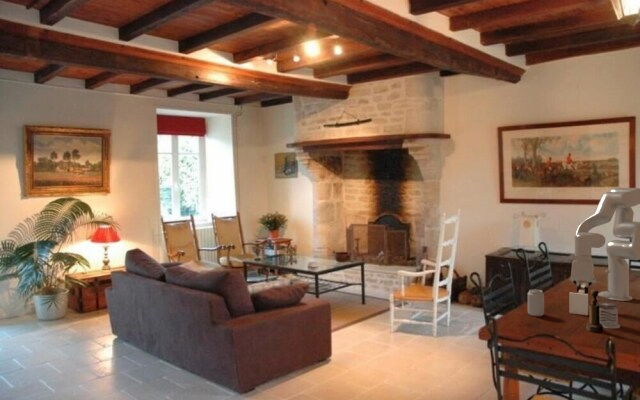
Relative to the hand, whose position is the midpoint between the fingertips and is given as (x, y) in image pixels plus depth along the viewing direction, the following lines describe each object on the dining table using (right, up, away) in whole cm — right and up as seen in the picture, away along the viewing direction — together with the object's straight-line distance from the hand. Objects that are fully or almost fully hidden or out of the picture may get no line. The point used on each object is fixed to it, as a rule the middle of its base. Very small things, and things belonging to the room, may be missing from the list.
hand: (582, 294), depth 258 cm
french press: (-5, -9, -30) cm, 31 cm away
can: (-28, -8, -11) cm, 31 cm away
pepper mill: (-14, -9, -37) cm, 41 cm away
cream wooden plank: (0, -1, 0) cm, 1 cm away
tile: (-8, -8, -11) cm, 15 cm away
